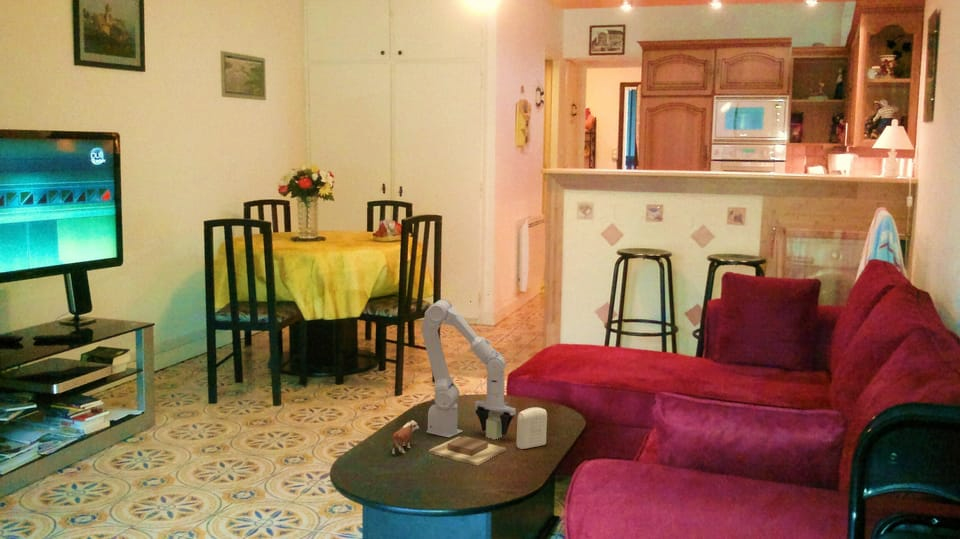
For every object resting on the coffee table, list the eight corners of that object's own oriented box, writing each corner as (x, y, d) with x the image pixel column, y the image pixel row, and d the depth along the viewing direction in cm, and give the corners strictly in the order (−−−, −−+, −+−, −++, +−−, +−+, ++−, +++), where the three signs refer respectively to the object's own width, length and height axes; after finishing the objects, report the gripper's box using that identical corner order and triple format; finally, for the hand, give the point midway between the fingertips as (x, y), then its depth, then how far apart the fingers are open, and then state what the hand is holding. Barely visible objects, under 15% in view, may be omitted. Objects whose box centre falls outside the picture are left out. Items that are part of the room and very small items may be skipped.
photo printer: (540, 441, 280) (541, 404, 279) (548, 445, 277) (549, 407, 275) (514, 446, 275) (515, 408, 273) (522, 450, 271) (523, 412, 270)
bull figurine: (420, 444, 275) (421, 419, 274) (399, 457, 263) (399, 431, 262) (408, 442, 277) (409, 417, 276) (387, 455, 265) (387, 429, 264)
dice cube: (489, 416, 306) (489, 403, 305) (496, 413, 310) (497, 400, 309) (500, 419, 303) (501, 405, 302) (508, 416, 307) (509, 402, 306)
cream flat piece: (428, 453, 267) (428, 443, 267) (458, 439, 280) (458, 430, 280) (477, 465, 257) (477, 455, 257) (505, 450, 271) (506, 441, 270)
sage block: (485, 437, 283) (486, 419, 282) (492, 434, 286) (492, 416, 285) (496, 440, 281) (496, 422, 280) (502, 436, 284) (503, 419, 283)
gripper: (520, 393, 281) (519, 433, 283) (483, 385, 289) (482, 425, 291) (509, 397, 275) (508, 439, 277) (471, 390, 283) (470, 430, 285)
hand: (494, 432), depth 283 cm, fingers open, 7 cm apart
